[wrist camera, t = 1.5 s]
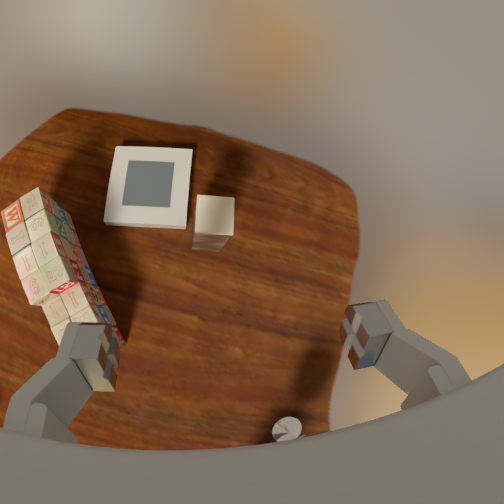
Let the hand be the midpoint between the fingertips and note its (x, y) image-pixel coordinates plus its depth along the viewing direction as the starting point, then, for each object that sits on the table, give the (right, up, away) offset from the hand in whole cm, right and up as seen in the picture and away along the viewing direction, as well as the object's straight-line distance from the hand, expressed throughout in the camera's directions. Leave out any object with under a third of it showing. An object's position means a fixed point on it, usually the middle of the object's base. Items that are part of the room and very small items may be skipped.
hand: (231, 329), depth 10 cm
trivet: (-15, +12, +33) cm, 38 cm away
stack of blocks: (-25, -2, +29) cm, 38 cm away
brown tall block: (-6, +5, +34) cm, 35 cm away
